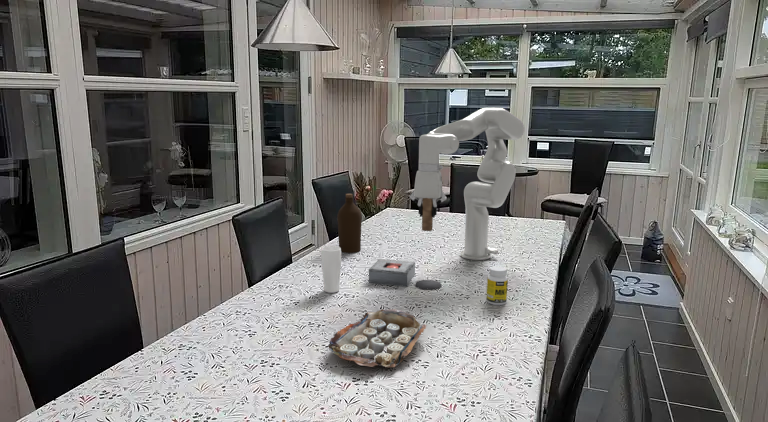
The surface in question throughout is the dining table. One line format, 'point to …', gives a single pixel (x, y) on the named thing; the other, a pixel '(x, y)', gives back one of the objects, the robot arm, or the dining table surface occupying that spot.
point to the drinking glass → (331, 268)
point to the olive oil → (349, 226)
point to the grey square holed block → (392, 272)
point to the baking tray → (368, 328)
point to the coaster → (428, 284)
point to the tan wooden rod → (427, 214)
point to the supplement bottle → (497, 285)
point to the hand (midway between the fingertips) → (427, 216)
